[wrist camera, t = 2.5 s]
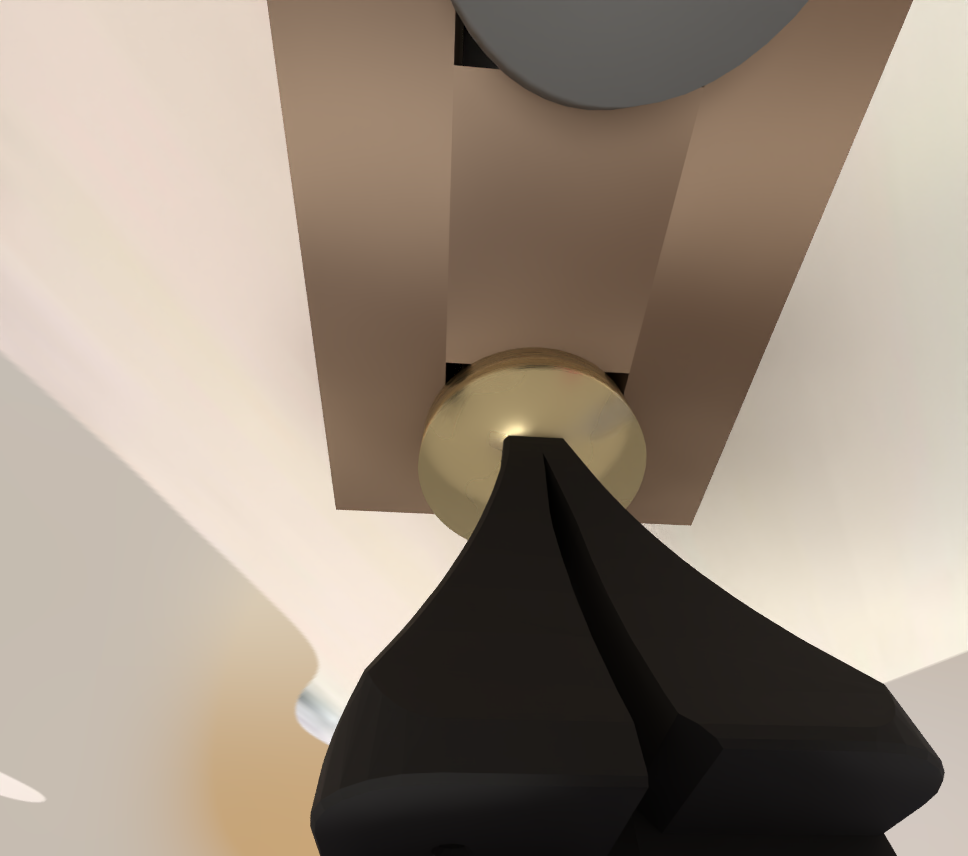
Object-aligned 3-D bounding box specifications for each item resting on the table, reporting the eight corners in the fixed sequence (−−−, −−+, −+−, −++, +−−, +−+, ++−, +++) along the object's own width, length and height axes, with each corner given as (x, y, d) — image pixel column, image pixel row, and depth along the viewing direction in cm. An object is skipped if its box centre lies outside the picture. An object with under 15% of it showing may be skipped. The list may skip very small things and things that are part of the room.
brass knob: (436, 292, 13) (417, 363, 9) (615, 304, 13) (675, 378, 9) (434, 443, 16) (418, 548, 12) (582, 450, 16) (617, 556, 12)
